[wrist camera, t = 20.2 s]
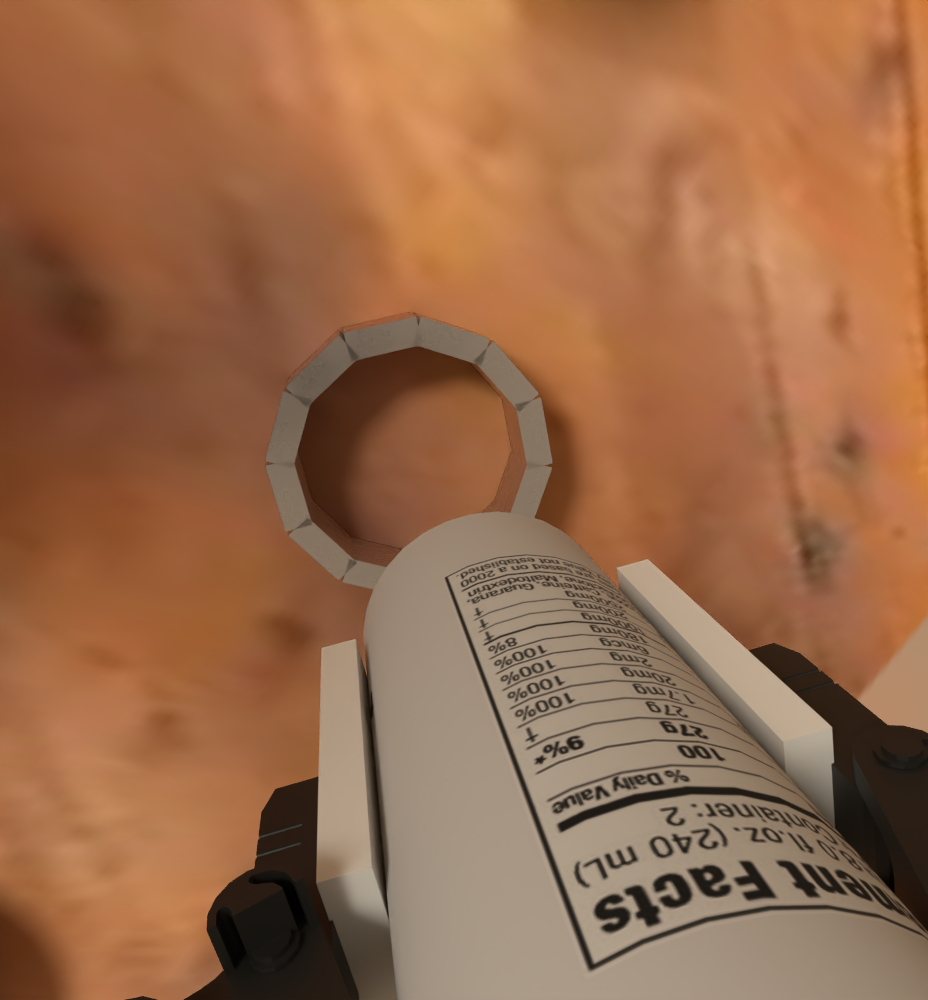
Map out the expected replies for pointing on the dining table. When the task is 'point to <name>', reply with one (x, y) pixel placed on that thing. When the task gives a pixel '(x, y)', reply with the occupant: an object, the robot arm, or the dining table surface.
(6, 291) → the dining table surface
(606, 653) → the energy drink can
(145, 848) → the dining table surface
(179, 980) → the dining table surface
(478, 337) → the hinge fixed
